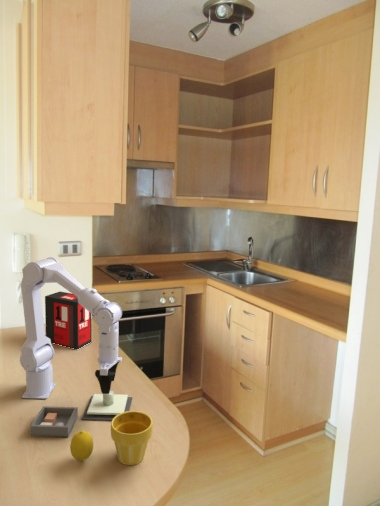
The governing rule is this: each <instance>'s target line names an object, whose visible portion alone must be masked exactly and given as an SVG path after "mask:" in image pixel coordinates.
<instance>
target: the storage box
mask: <svg viewBox="0 0 380 506" xmlns="http://www.w3.org/2000/svg"><path fill="white" fill-rule="evenodd" d="M78 408H79V407H76V406H75V407H74V406H50V405H49V406H46V405H44V406H43V405H42V408H41V409H40V411H39V412H38V414H37V415H36V417H35V418H34V420H33V421H32V423H31V425H30V437H38V438H39V437H43V438H65V439H66V438H69V436H70V434H71V432H72V430H73V428H74V426H75V423H76V421H77V419H78V416H79V415H78V414H79V412H78V411H79V410H78Z"/></svg>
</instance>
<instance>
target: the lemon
mask: <svg viewBox="0 0 380 506" xmlns="http://www.w3.org/2000/svg"><path fill="white" fill-rule="evenodd" d="M69 445H70V447H69V448H70V449H69V450H70V453H71V456H72V457H73V459H74V460H76V461H81V462H83V461H85V460H88V458H89V457H90V456H91V455H92V453H93V451H94V440H93V436H92V434H91V433H90V432H89V431H86V430H80V431H77V432H76V433H74V435H73V436H72V438H71V440H70V444H69Z"/></svg>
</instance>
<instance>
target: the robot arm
mask: <svg viewBox="0 0 380 506" xmlns="http://www.w3.org/2000/svg"><path fill="white" fill-rule="evenodd" d="M47 283H48V284H52V283H56V284H58V285H59V286H61V287H62V288H64V289H65V290H66V291H68V293H71V294H74V295H75V296H77V297H78V303H79V304H80V305H81V306H83V307H84V308H85V309H86V310H88V311H89V312H90V313H91V315H93V316H94V320H95V322H96V324H97V327H98V357H97V362H98V365H99V369H96V370H95V372H94V376H95V378H96V379H97V382H98V384H99V387H100V393H101V394H109V392H110V390H111V388H112V382H114V381H115V378H116V372H117V370H118V369H117V368H118V366H119V363H121V362H122V361H123V357H121V356H119V333H120V332H119V329H120V328H119V327H120V326H119V320H120V319H121V318H122V316H123V310H122V307H121V305H119V303H117V302H114V301H110V300H108V299H106V298H104V297H103V296H102V295H101V294H100V293H98V290H97V289H96V288H92V287H88V288H87V287H84V286H83V284H81V283H80V282H79V281H78V280H77V279H76V278H75V277H74V276H72V275H71V274H70V273H69V271H67V270H66V269H65V268H64V265H63V264H62V262H60V261H58V260H57V259H56V258H54V257H51V256H49V257H47V258H46V257H45V258H44V259H39V260H37V261H30V262H28V263H27V264H26V265H25V266H24V267H22V279H21V282H20V288H21V289H20V290H21V297H22V298H21V299H22V307H23V314H24V316H23V317H24V325H25V334H26V340H25V341H24V343H23V344H22V346H21V348H20V350H21V354H20V357H19V362H20V365H21V367H22V368H23V370H24V371H25V382H26V386H25V387H26V388H25V391H24V393H23V394H22V395H21V398H22V399H41V400H45V399H48V398H49V396H50V394H51V393H52V392H53V390H54V388H55V387H56V386H57V385H56V383H55V382H54V381H53V380H54V373H53V371H54V369H53V365H52V361H51V360H53V358H54V356H55V349H54V347H53V344H51V340H50V339H49V338H48V337H46V328H45V320H44V319H45V318H44V311H43V301H42V290H41V288H42V287H44V285H46V284H47Z"/></svg>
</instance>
